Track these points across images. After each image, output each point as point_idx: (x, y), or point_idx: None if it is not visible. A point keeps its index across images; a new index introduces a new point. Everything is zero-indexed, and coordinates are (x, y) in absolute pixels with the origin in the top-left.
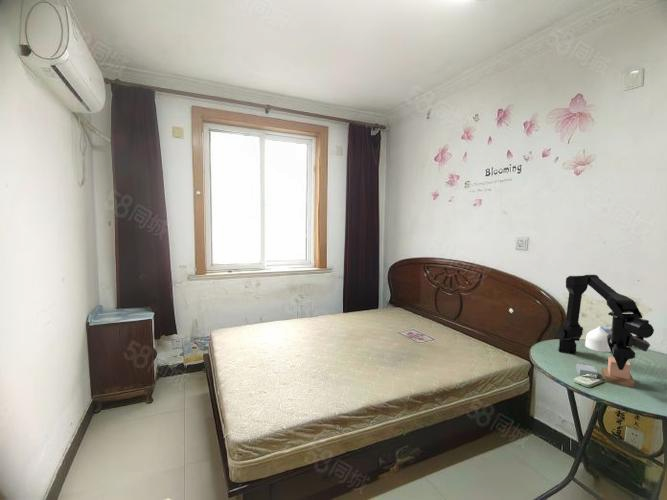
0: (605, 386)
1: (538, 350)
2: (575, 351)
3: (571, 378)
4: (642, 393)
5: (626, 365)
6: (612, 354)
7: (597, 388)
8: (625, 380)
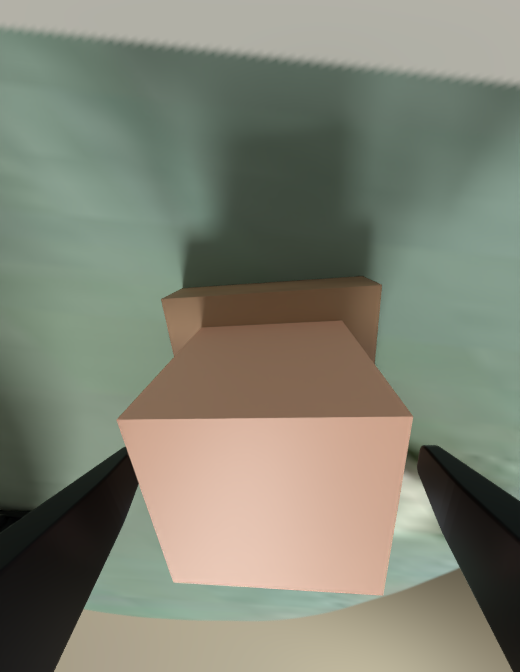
0: (430, 428)
1: (123, 608)
2: (1, 520)
3: (399, 543)
4: (445, 230)
5: (399, 451)
6: (98, 576)
7: (484, 463)
8: (375, 348)
